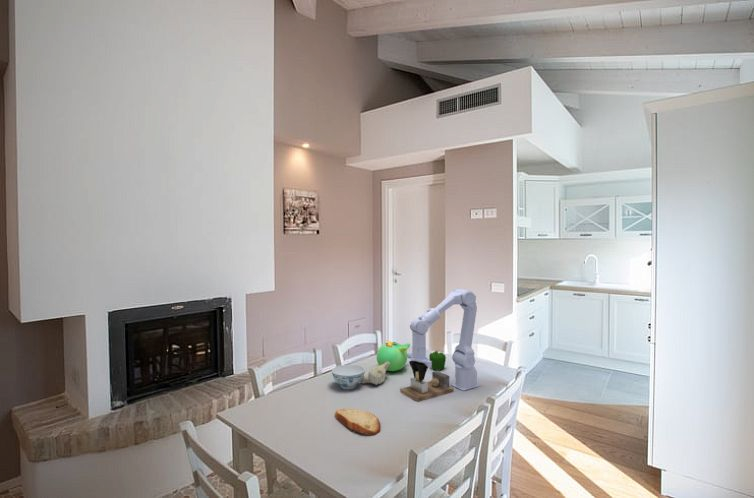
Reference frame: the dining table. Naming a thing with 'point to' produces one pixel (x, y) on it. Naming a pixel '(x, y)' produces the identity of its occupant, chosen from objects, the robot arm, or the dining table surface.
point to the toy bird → (393, 355)
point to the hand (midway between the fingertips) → (419, 378)
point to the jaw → (419, 384)
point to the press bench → (430, 388)
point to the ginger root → (376, 374)
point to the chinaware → (348, 375)
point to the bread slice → (359, 421)
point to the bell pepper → (437, 360)
